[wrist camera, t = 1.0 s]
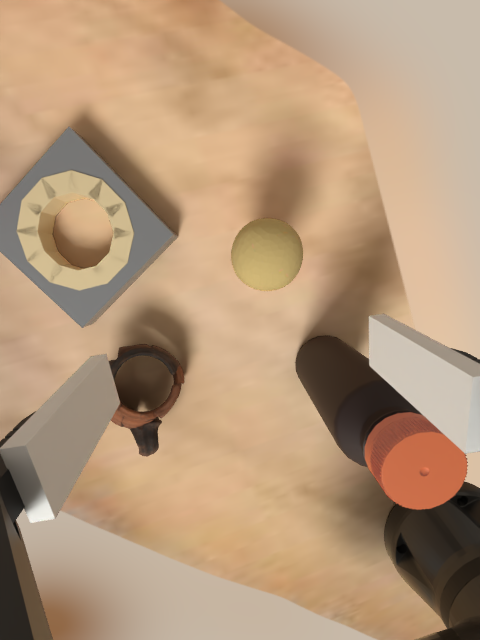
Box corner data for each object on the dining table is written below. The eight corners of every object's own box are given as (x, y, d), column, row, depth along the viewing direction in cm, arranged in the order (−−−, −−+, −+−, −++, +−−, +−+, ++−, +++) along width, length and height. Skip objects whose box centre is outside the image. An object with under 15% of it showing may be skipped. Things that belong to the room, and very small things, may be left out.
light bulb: (283, 290, 35) (302, 299, 25) (228, 282, 35) (225, 287, 25) (293, 233, 34) (317, 219, 24) (236, 224, 34) (237, 205, 24)
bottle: (361, 371, 37) (505, 489, 17) (312, 399, 37) (397, 545, 18) (334, 323, 36) (454, 391, 16) (284, 353, 36) (341, 453, 17)
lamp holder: (178, 236, 34) (173, 234, 32) (92, 323, 36) (81, 328, 33) (81, 137, 32) (68, 125, 30) (-4, 233, 34) (-24, 230, 31)
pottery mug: (88, 361, 37) (82, 354, 29) (165, 340, 41) (177, 329, 33) (115, 462, 36) (115, 480, 28) (191, 430, 40) (210, 438, 32)
